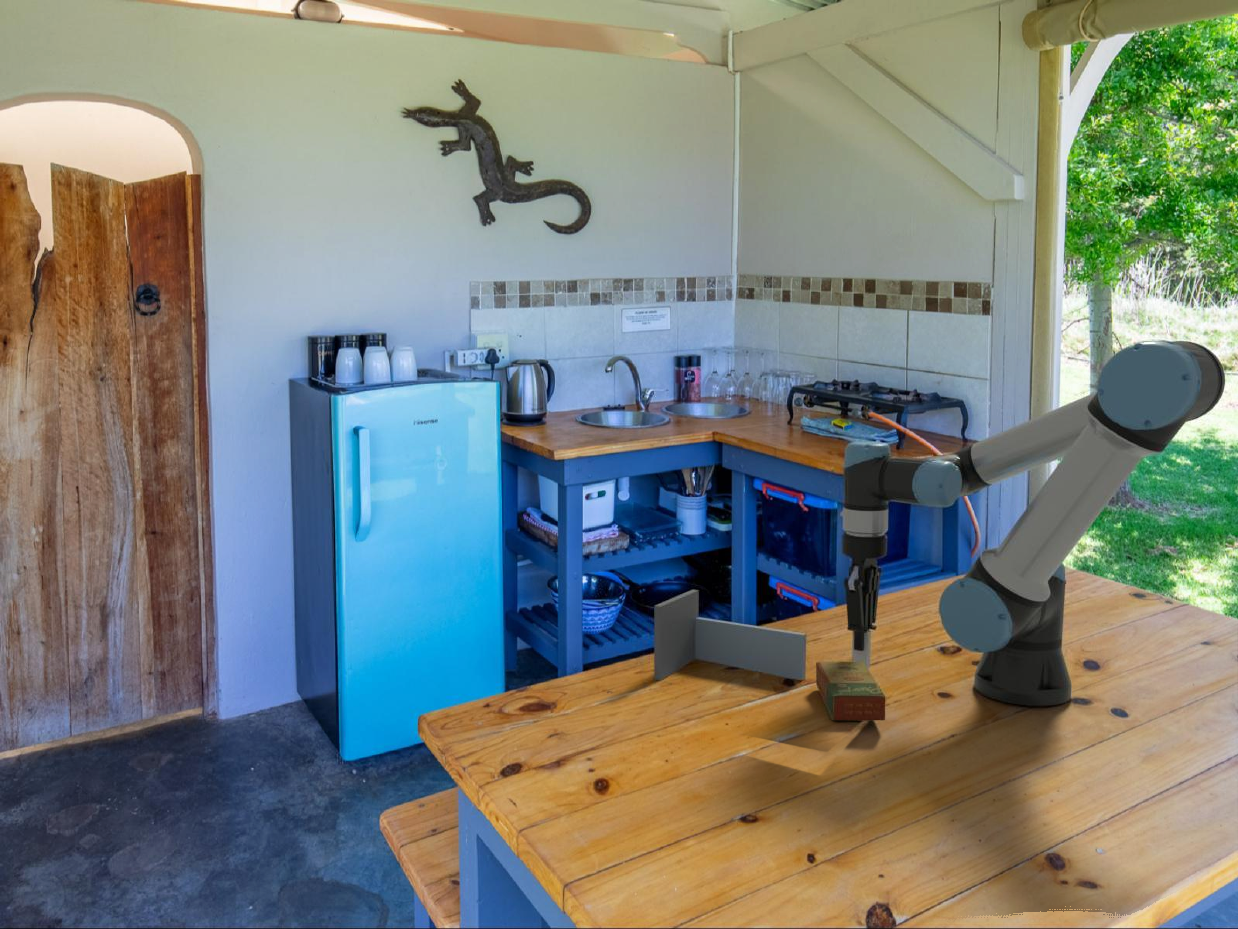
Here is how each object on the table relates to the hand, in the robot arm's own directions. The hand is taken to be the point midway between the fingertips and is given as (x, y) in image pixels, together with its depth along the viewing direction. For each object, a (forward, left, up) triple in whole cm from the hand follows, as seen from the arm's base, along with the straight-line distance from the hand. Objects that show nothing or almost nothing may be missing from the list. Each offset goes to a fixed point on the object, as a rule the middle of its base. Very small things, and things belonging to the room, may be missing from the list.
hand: (860, 667), depth 182 cm
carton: (0, +9, -4) cm, 10 cm away
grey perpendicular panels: (+19, +12, -2) cm, 22 cm away
